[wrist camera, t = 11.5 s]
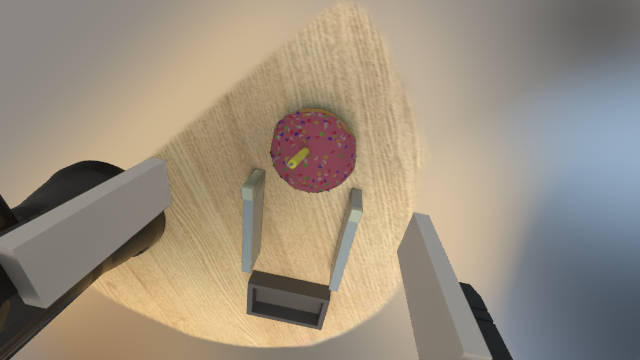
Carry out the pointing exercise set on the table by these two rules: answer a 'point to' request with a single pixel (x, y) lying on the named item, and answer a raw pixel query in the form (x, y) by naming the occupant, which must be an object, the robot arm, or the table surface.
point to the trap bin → (287, 300)
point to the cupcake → (313, 150)
